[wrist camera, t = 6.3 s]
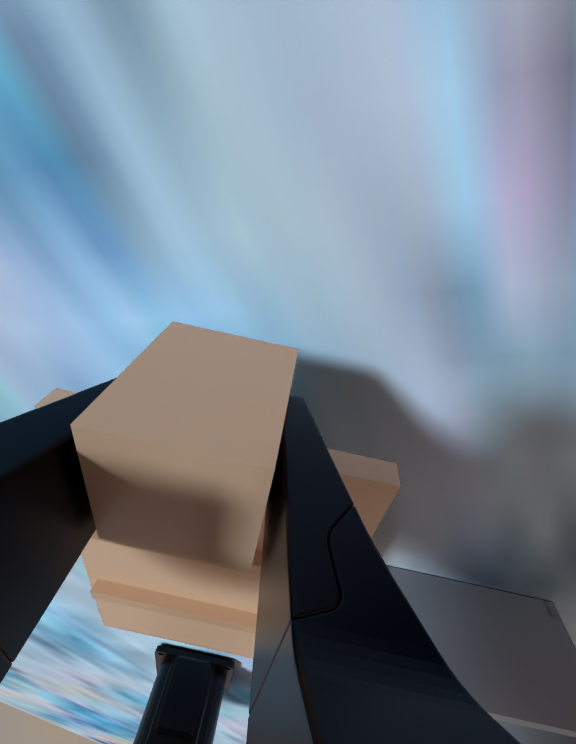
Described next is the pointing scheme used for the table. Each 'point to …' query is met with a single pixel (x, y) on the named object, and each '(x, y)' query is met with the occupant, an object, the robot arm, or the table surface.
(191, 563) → the lid
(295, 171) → the table surface
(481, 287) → the table surface
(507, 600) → the tub
